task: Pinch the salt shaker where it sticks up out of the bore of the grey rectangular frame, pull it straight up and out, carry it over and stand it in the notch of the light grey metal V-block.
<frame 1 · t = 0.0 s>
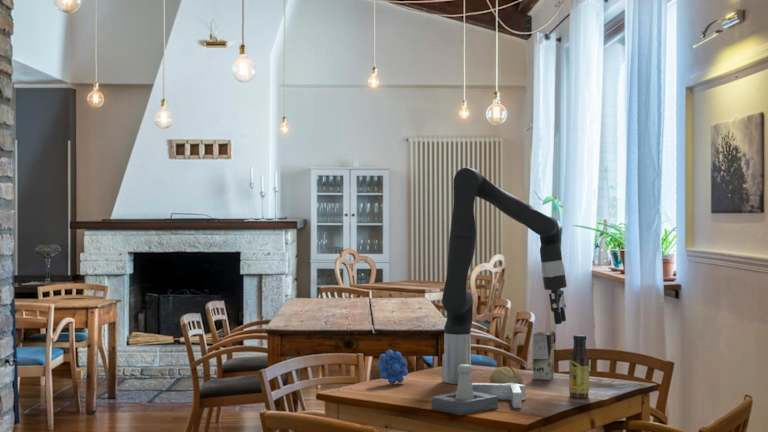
hand: (560, 322, 279), 22 cm above the table, tool pointing down, fingers open, 8 cm apart
v block: (496, 402, 258), on the table
coffee box: (543, 378, 302), on the table
grey rectangular frame: (464, 408, 249), on the table
sauce bottle: (579, 397, 267), on the table
salt shaker: (464, 409, 249), on the table
grapes: (393, 385, 287), on the table
bread roll: (506, 391, 277), on the table
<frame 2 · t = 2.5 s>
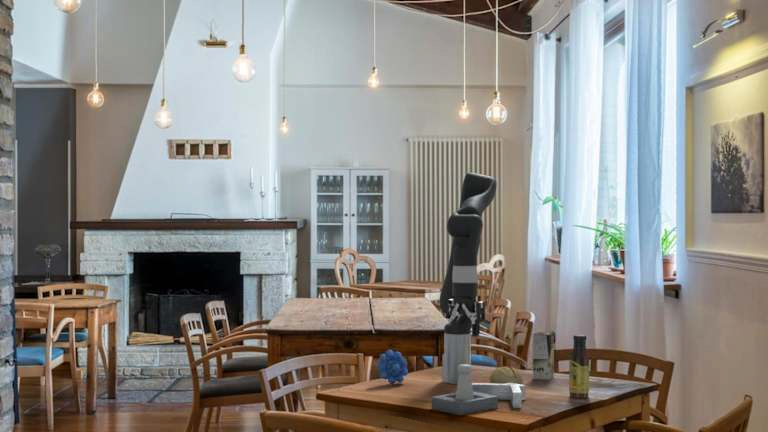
hand: (465, 335, 249), 22 cm above the table, tool pointing down, fingers open, 8 cm apart
nothing on the table moved.
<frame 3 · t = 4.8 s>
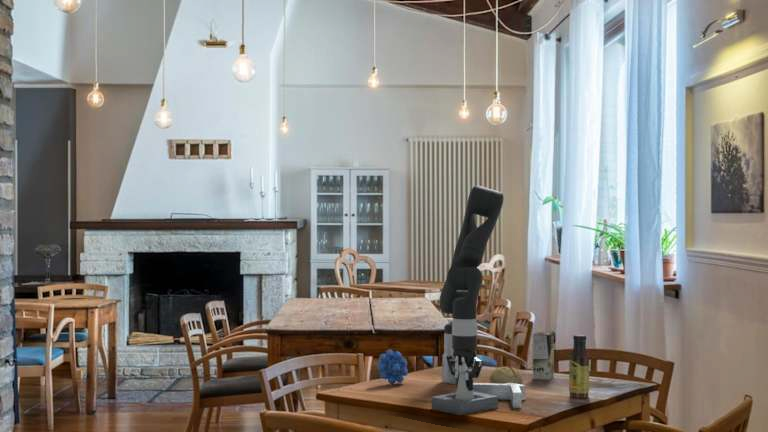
hand: (464, 391, 249), 5 cm above the table, tool pointing down, fingers closed on salt shaker, 3 cm apart
salt shaker: (464, 408, 249), on the table, touching gripper
everything else where it was.
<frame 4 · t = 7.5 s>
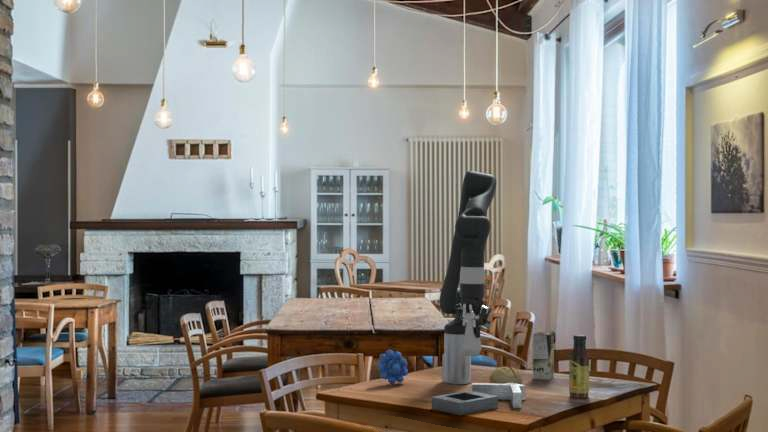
hand: (471, 338, 252), 20 cm above the table, tool pointing down, fingers closed on salt shaker, 3 cm apart
salt shaker: (471, 356, 252), point 15 cm above the table, touching gripper
everything else where it was.
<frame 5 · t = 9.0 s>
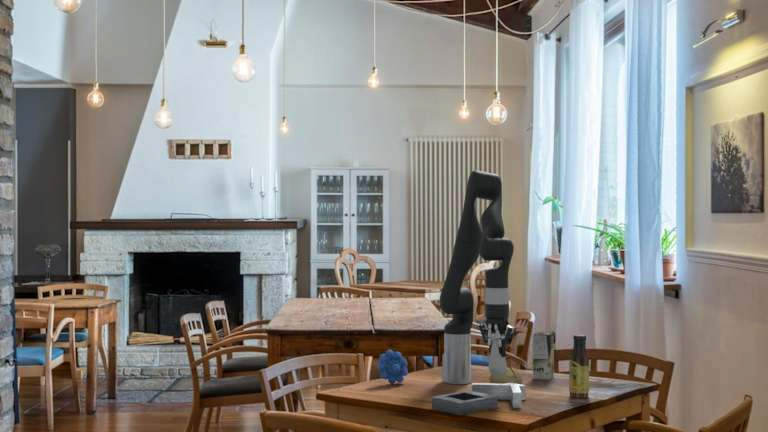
hand: (497, 357, 258), 14 cm above the table, tool pointing down, fingers closed on salt shaker, 3 cm apart
salt shaker: (497, 375, 258), point 8 cm above the table, touching gripper
everything else where it was.
when the fingers open (7 cm above the table, at t = 10.3 s): salt shaker drops 1 cm, on the table.
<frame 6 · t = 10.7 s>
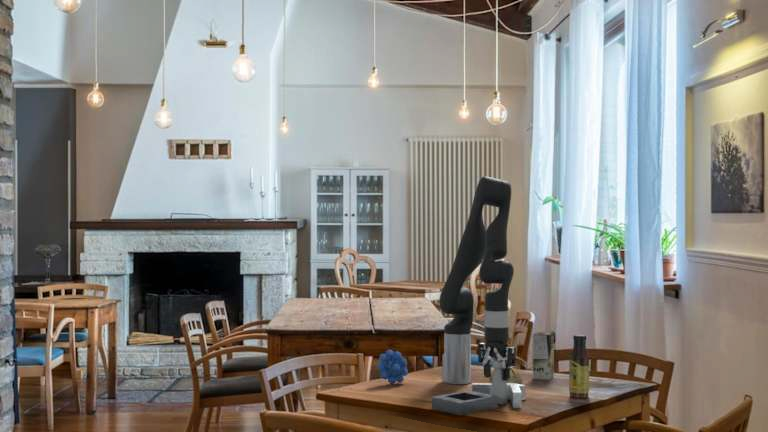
hand: (496, 378, 258), 7 cm above the table, tool pointing down, fingers open, 7 cm apart
salt shaker: (499, 403, 257), on the table
everything else where it was.
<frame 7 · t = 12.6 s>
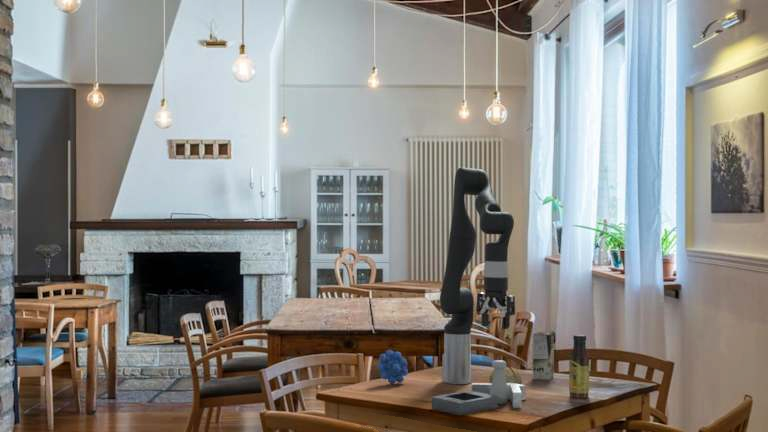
hand: (495, 327, 260), 23 cm above the table, tool pointing down, fingers open, 8 cm apart
nothing on the table moved.
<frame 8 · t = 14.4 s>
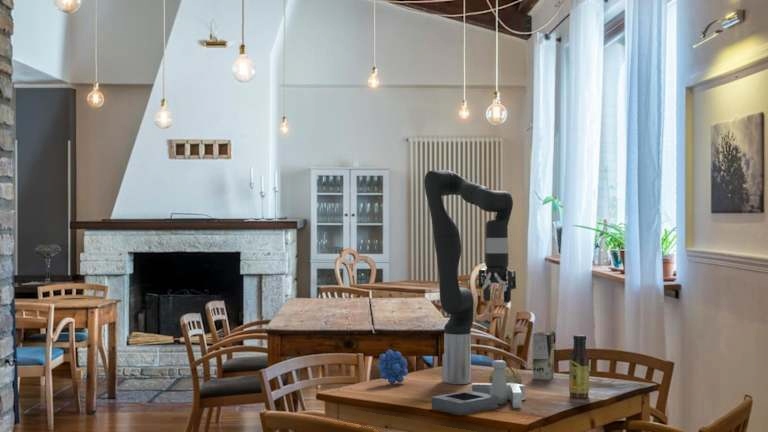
hand: (496, 301, 270), 30 cm above the table, tool pointing down, fingers open, 8 cm apart
nothing on the table moved.
at the end: salt shaker 1.1 cm off-centre on the v block, point 0.0 cm above the v block's base; salt shaker tilted 0°; the gripper is holding nothing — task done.
